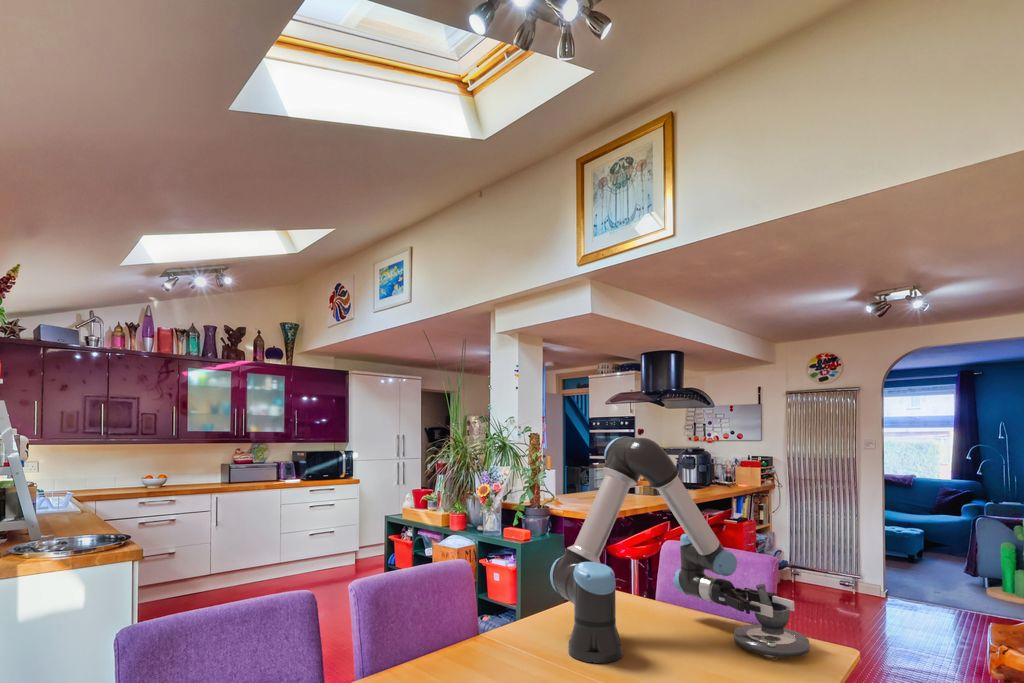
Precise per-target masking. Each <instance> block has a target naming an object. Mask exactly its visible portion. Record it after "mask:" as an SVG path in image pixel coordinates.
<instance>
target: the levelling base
mask: <svg viewBox="0 0 1024 683" xmlns="http://www.w3.org/2000/svg"><path fill="white" fill-rule="evenodd" d="M761 627H762V625H761V624H745V625H741V626H738V627H736V628H735V629H734V630H733V640H734V642H735V643H736V644H737V645H738V646H740V648H742V649H745V650H747V651H750V652H753V653H756V654H760V655H761V656H763V657H762V658H764V659H766V658H767V660H770V659H776V660H778V659H779V658H797V657H802V656H805V655H807V654H809V652H810V648H811V647H810V646H811V645H810V640H809V639H808V637H807V636H806V635H804V634H802V633H800V632H797V631H795V630H792V629H790V628H785V627H783V628H784V634H782V635H771V634H767V633H764V632H763V631H761ZM794 635H795V636H794ZM777 658H778V659H777Z"/></svg>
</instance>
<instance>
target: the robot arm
mask: <svg viewBox="0 0 1024 683" xmlns="http://www.w3.org/2000/svg"><path fill="white" fill-rule="evenodd" d="M603 458H604V461H605V464H604V466H603V468H602V470H603V472H604V478H603V480H602V482H601V484H600V486H599V488H598V491H597V493H596V496H595V497H594V500H593V502H592V503H591V504H592V505H591V506H590V509H589V511H588V513H587V515H586V517H585V520H584V522H583V523H582V526H581V529H580V530H579V533H578V535H577V537H576V539H575V542H574V544H572V545H570V546H568V547H567V548H566V549H565V552H564V554H563V555H562V556H561V557H558V558H557V559H555V561H554V562H553V564H552V565H551V568H550V573H549V578H550V579H549V580H550V583H551V586H552V589H554V591H555V592H556V593H557V594H558V595H559V596H560V597H562V598H564V599H565V600H567V601H569V602H571V603H572V604H573V605H574V607H573V608H574V609H573V611H574V613H573V614H574V618H573V619H574V622H573V627H572V631H571V635H570V639H569V641H568V646H567V648H568V649H567V650H568V654H569V655H570V656H571V657H572V658H574V659H576V660H578V661H581V662H584V663H585V662H586V663H591V662H593V663H592V664H607V663H612V662H616V661H619V660H620V659H621V658H622V657H623V653H624V652H623V644H622V642H621V639H620V638H621V637H620V634H619V632H618V629H617V628H618V627H617V622H616V620H617V618H616V617H617V616H616V614H617V613H616V612H617V610H616V607H617V606H616V599H617V598H616V586H617V582H616V577H615V576H616V575H615V572H614V569H612V567H611V566H608V565H606V564H605V563H601V561H600V557H601V555H602V552H603V550H604V549H605V548H604V547H605V546H606V543H607V540H608V539H609V536H610V534H611V531H612V529H613V526H614V524H616V523H615V522H616V521H617V518H618V516H619V513H620V511H621V509H622V506H623V504H624V502H625V499H626V498H627V495H628V493H629V490H630V488H631V487H635V486H637V484H638V482H639V479H640V477H642V478H644V479H645V480H646V481H647V482H648V484H649V485H650V487H651V488H652V489H655V490H657V492H659V494H660V496H661V498H662V499H663V500H664V502H665V504H666V505H667V508H668V509H669V510H670V512H672V514H673V516H674V518H675V519H676V520H677V522H678V524H679V525H680V527H681V528H682V530H683V531H684V533H682V534H681V535H680V544H679V551H680V554H679V555H680V568H678V569H677V570H676V571H675V572H674V577H673V585H674V587H675V589H676V590H677V591H679V592H680V593H683V594H686V595H688V596H692V597H695V598H697V599H698V598H699V599H702V600H705V601H708V603H710V604H711V603H716V604H719V605H720V606H725V607H727V606H728V607H730V608H732V609H735V610H737V611H739V612H742V613H743V612H745V614H747V615H750V614H751V612H752V613H754V612H755V613H758V614H761V615H765V616H768V617H771V618H772V617H773V607H771V606H767V605H764V604H760V603H757V602H761V601H760V597H759V593H758V590H757V589H753V588H750V587H743V589H742V588H741V587H735V585H734V584H733V582H731V581H730V580H728V579H724V578H720V577H717V576H711V575H709V574H705V570H706V571H709V572H711V573H714V574H716V575H719V576H720V575H721V576H722V577H723V576H724V577H729V576H731V575H733V574H734V573H735V572H736V570H737V568H738V559H737V557H736V555H735V553H734V552H732V551H730V550H728V549H725V548H724V546H723V545H722V543H721V542H720V540H719V538H718V537H717V535H716V534H715V532H714V531H713V530H712V528H711V526H710V525H709V523H708V521H707V520H706V518H705V517H704V514H702V512H701V510H700V509H699V507H698V506H697V504H696V503H695V501H694V499H693V498H692V496H691V495H690V493H689V492H688V490H687V488H686V487H685V485H684V483H683V482H682V481H681V479H680V477H679V474H680V472H679V470H678V468H677V466H676V464H675V463H674V461H673V460H672V459H671V457H670V456H669V455H668V453H667V452H666V451H665V450H664V448H662V446H661V445H660V444H658V443H657V442H656V441H654V440H652V439H651V438H648V437H632V436H621V437H620V436H619V437H617V438H614V439H612V440H611V441H610V442H608V444H607V446H606V447H605V449H604V454H603ZM767 594H768V597H769V599H770V602H776V603H780V604H784V605H786V606H788V607H789V610H790V611H791V612H795V611H796V609H795V601H794V600H793V599H792V600H791V599H789V598H784V597H779V596H777V593H775V591H774V592H769V591H767ZM755 613H754V614H755Z"/></svg>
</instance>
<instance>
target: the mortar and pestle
mask: <svg viewBox="0 0 1024 683" xmlns="http://www.w3.org/2000/svg"><path fill="white" fill-rule="evenodd" d="M755 588H756V590H758V593H759V597H760V601H761V602H757V603H760V604H764V605H767V606H771V607H773V617H772V618H771V617H768V616H765V615H761V614H758V613H755V612H753V613H754V616H755V618H756V621H757V622H759V623H760V624H759V625H762V627H761V631H763V632H764V633H767V634H771V635H782V634H784V628H785V627H786V626H787V625H788V622H790V610H789V607H788V606H786V605H784V604H780V603H776V602H770V599H769V597H768V594H767V592H768V591H767V590H766V588H767V586H766V584H764V583H758V584H756V586H755Z"/></svg>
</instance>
